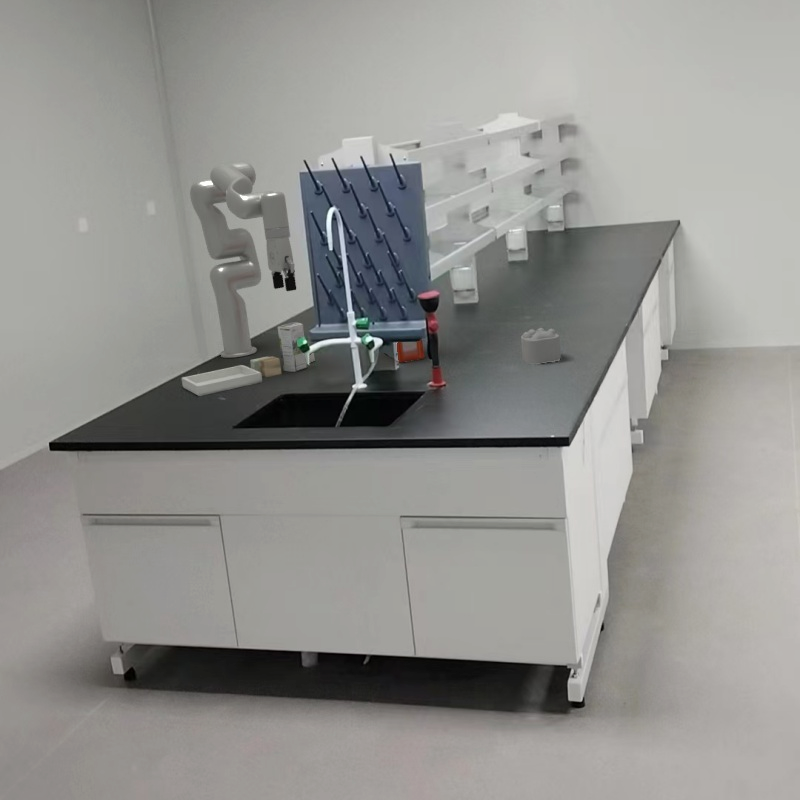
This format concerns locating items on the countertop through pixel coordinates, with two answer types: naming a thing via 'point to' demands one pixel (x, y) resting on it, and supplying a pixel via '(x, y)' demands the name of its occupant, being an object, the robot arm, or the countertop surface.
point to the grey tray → (221, 380)
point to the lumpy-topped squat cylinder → (540, 346)
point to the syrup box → (291, 347)
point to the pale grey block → (312, 357)
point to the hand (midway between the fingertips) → (285, 289)
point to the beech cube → (269, 366)
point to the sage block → (256, 364)
